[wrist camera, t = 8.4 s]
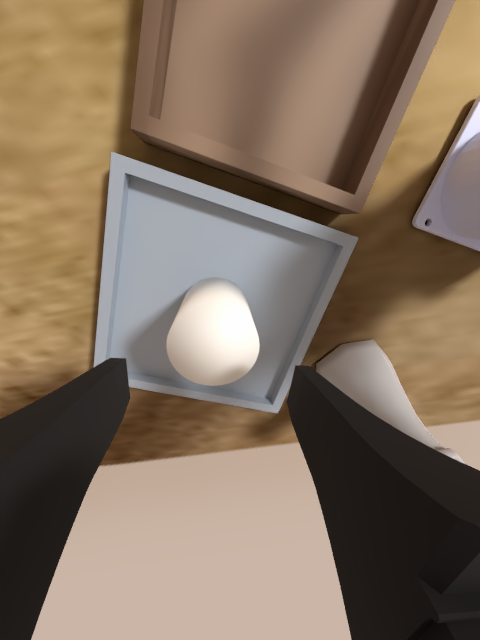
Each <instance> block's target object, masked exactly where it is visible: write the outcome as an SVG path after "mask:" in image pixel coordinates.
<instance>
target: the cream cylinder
mask: <svg viewBox="0 0 480 640" xmlns="http://www.w3.org/2000/svg"><path fill="white" fill-rule="evenodd" d="M259 347H260V344H259V337H258V333H257V330H256V327H255V324H254V321H253V318H252V315H251V312H250V309H249V306H248V303H247V300H246V297H245V295H244V293H243V291H242V290H241V289H240V288H239V287H238V286H237V285H236V284H235V283H233V282H231V281H229V280H227V279H224V278H218V277H212V278H206V279H203V280H200V281H199V282H197V283H195V284H194V285H193V286H192V287H191V288H190V289H189V290H188V292H187V293H186V295H185V297H184V299H183V302H182V304H181V306H180V308H179V311H178V313H177V315H176V317H175V319H174V322H173V324H172V326H171V328H170V331H169V333H168V336H167V343H166V348H167V354H168V357H169V360H170V362H171V364H172V365H173V367H174V368H175V369H176V371H177V372H178V373H180V374H181V375H182V376H183V377H185V378H186V379H188V380H190V381H192V382H194V383H198V384H201V385H207V386H219V385H225V384H229V383H231V382H234V381H236V380H238V379H240V378H241V377H243V376H244V375H245V374H246V373H247V372H248V371H249V370H250V369H251V368H252V367H253V365H254V364H255V362H256V360H257V357H258V354H259Z"/></svg>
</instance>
